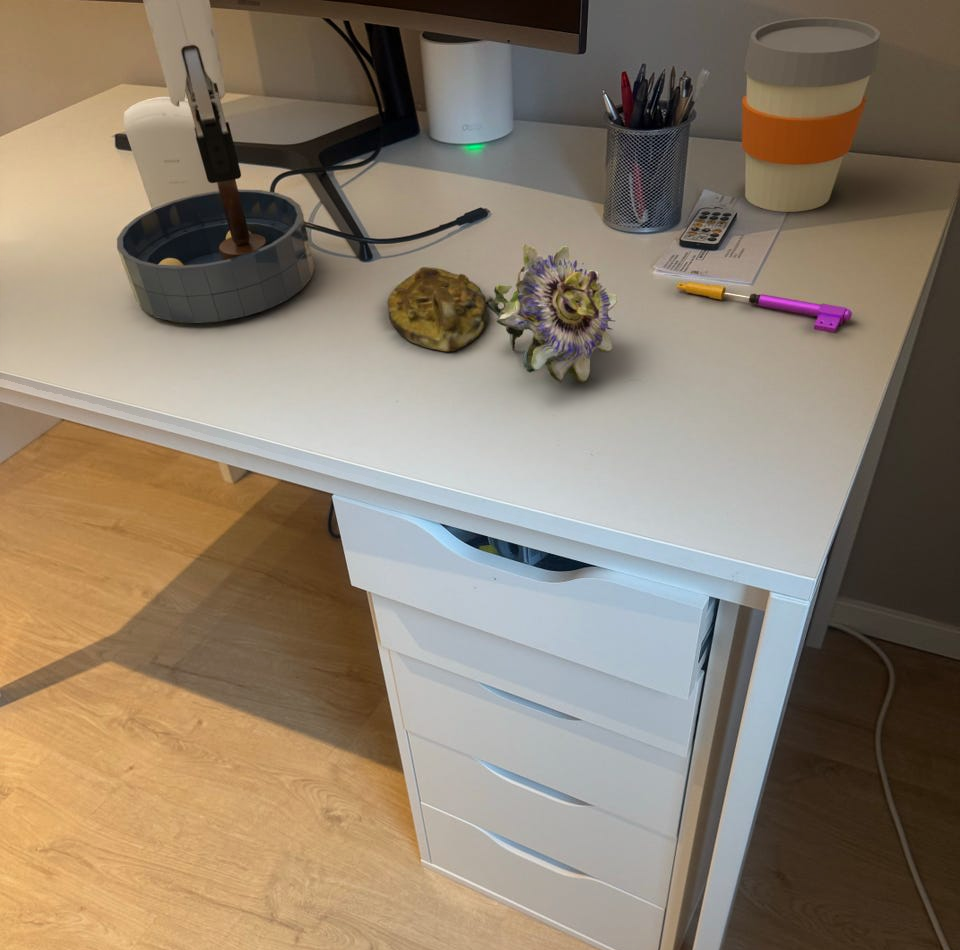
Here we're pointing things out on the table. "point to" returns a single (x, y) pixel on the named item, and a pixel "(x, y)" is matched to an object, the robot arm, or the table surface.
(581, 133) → the table surface
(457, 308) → the lumpy olive cookie
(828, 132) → the reusable coffee cup
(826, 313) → the piston cylinder
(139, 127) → the photo printer
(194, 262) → the bowl
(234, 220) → the wooden dough tamper
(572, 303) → the passion flower
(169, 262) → the dough ball
